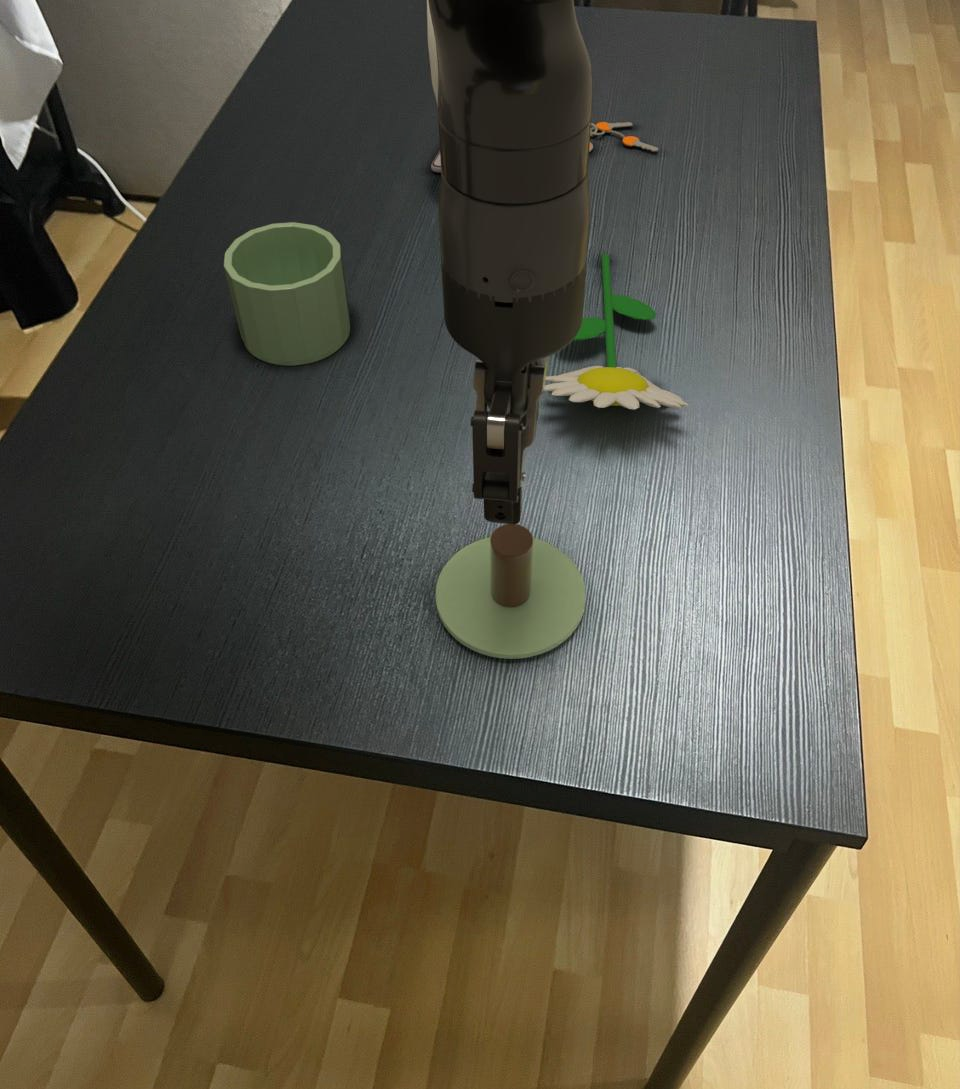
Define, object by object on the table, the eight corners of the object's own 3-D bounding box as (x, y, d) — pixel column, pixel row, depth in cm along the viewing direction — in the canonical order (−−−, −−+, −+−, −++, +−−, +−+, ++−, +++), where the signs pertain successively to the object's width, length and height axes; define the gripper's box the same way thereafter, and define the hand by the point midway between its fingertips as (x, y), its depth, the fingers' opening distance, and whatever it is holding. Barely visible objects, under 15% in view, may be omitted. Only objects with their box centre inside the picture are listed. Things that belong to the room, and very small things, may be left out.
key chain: (549, 155, 116) (549, 148, 116) (548, 123, 121) (548, 117, 121) (659, 155, 116) (659, 148, 115) (653, 124, 121) (654, 117, 120)
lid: (524, 691, 70) (527, 632, 65) (405, 611, 75) (398, 549, 69) (613, 591, 76) (623, 529, 70) (497, 522, 80) (497, 459, 75)
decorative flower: (541, 277, 105) (534, 449, 83) (545, 234, 102) (539, 401, 79) (661, 287, 105) (686, 462, 83) (670, 244, 101) (698, 414, 79)
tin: (296, 380, 91) (281, 304, 85) (219, 336, 96) (199, 260, 89) (372, 324, 97) (364, 248, 90) (297, 285, 101) (283, 210, 94)
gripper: (464, 170, 56) (472, 389, 68) (414, 329, 47) (433, 548, 59) (598, 178, 55) (581, 399, 67) (573, 342, 46) (559, 562, 58)
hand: (512, 469), depth 63 cm, fingers open, 8 cm apart
